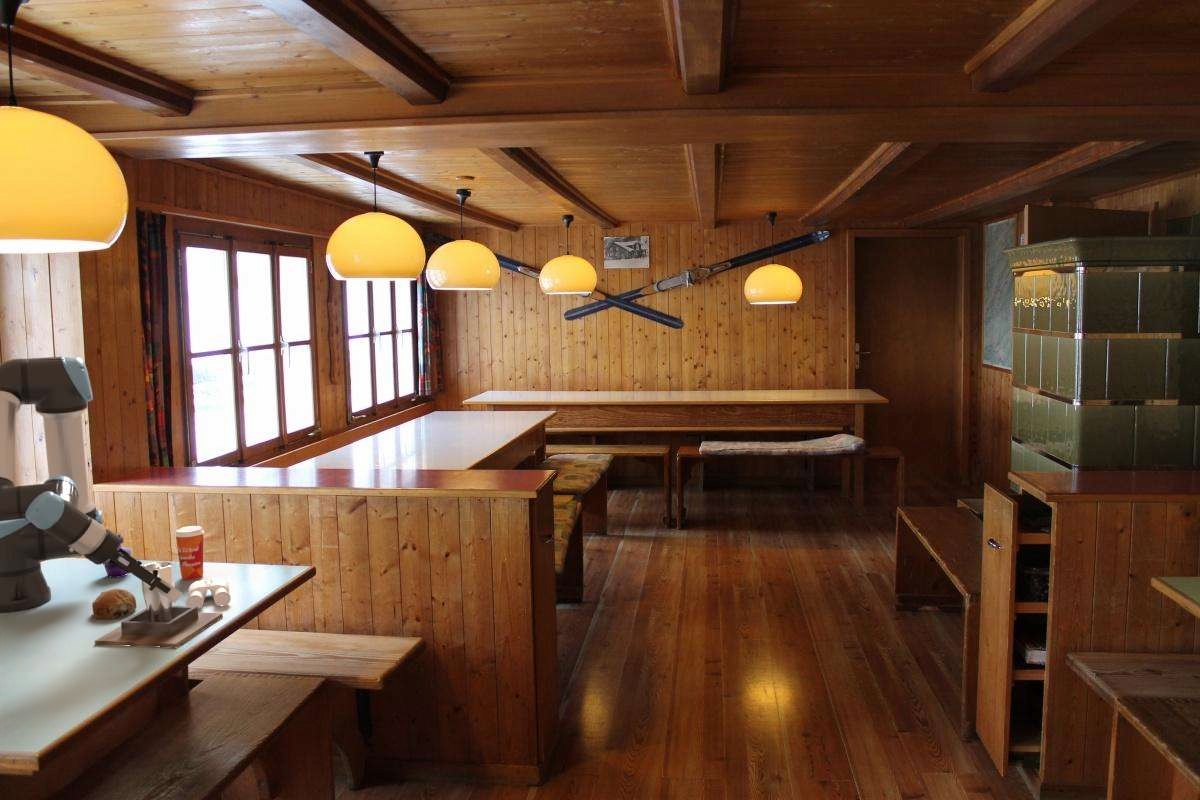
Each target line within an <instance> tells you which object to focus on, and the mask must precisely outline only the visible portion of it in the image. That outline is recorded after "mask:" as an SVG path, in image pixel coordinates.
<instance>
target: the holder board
mask: <svg viewBox="0 0 1200 800" xmlns="http://www.w3.org/2000/svg"><path fill="white" fill-rule="evenodd" d="M172 612H173V617H174V619H172V620H171V621H169V622H148V611H147V607H146V608H145V609H143V610H140V611H139V612H137V613H135V614H133V615H132V616H129V617H128V618H125V620H122V621H121V622H120V626H119V627H116V628H114V629H113V630H111V631H109V632H108V633H106V634H104V635H102V636H100V637H99V638H97V639H96V640H94V645H95V646H112V645H130V646H129V647H137V646H160V647H159V648H162V647H177V646H179V645H180V646H181V644H182V643H183V642H185V641H186V642H188V641H189V640H191V639H192V638H194V637H195V636H196V634H197V635H198V634H199V632H200V631H201V632H202V630H203V629H204V630H205V628H206V627H207V628H209V627H210V626H211V625H210V624H212V623H213V624H215V623H216V622H218V621H219V620H221V619H222V618H224V617H223V612H202V611H201V612H199V609H198V607H195V606H187V605H172ZM220 618H221V619H220ZM218 619H219V620H218ZM217 620H218V621H217ZM215 621H216V622H215ZM214 622H215V623H214ZM213 624H212V625H213ZM209 625H210V626H209ZM208 626H209V627H208ZM207 628H206V629H207ZM204 630H203V631H204ZM201 632H200V633H201ZM193 636H194V637H193ZM190 638H191V639H190ZM187 640H188V641H187ZM186 642H185V643H186ZM183 644H184V643H183ZM183 644H182V645H183ZM180 646H179V647H180ZM177 648H178V647H177Z"/></svg>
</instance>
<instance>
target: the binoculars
mask: <svg viewBox="0 0 1200 800" xmlns="http://www.w3.org/2000/svg"><path fill="white" fill-rule="evenodd" d="M208 590H210V592H211V593H210V594H211V596H212V600H214V601H213V602H214V604H215V605H216V606H217V607H220V606H221V605H223V606H222V607H225V606H228V605H229V604H230V602H231V594H230V584H229V582H228V581H227V580H226V579H224V578H222V577H220V578H219V577H218V578H211V577H209V576H208V577H206V578H205V579H202V580H196V581H194V582H192V583H191V584H190V586H189V587H188V593H187V595H188V596H187V599H186V606H195V607H198V610H200V609H202V607H203V605H204V601H205V600H206V597H207V592H208Z"/></svg>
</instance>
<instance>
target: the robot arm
mask: <svg viewBox="0 0 1200 800" xmlns="http://www.w3.org/2000/svg"><path fill="white" fill-rule="evenodd" d="M93 395H94V394H93V390H92V385H91V380H90V376H89V372H88V368H87V366H86V362H85V361H84V360H83V358H81V357H77V356H49V357H33V358H32V357H31V358H14V359H9V360H6V361H3V362H1V363H0V613H5V612H8V611H9V612H16V611H20V610H26V609H31V608H34V607H38V606H40V605H43V604H45V603H47V602H48V601H50V600H51V599H52V590H51V587H50V586H49V585H48V582H47V580H46V577H45V575H44V574H43V571H42V563H41V562H42V561H51V560H57V559H58V560H59V559H66V558H74V557H75V558H76V557H79V558H80V557H83V556H84V558H85V559H87V560H88V561H90V562H92V563H93V564H94V565H103V563H104V562H106V560H108V559H110V561H109V563H110V564H112V565H113V566H115V567H116V568H120V569H121V570H123V571H124V572H126V573H128V574H132V575H133V576H135V577H136V578H138V579H139V580H140V581H141V582H142V581H144V582H145V583H147V584H148V585H150V586H151V587H150V588H149V590H151V591H152V590H153V589H154V590H156V591H158V592H159V593H161V594H162V595H164V596H165V597H167V598H168V599H170V600H171V601H173V604H175V603H176V602H177V601H178V600H179V599H180V598H181V596H183V592H182V591H180V590H179V589H177V588H176V587H175V586H174V587H173V586H171V585H170V584H168V583H167V582H165V581H164V580H162V579H161V578H160V577H157V576H155V575H154V574H152V573H151V572H149V571H148V570H146V569H145V568H143V567H142V566H143V565H142V564H143V562H142V561H140V560H137V559H135V558H134V557H133V556H132V557H131V556H130V554H129V553H127V552H126V551H124V550H123V549H121V548H120V549H119V550H117V549H118V547H119V545H120V541H121V540H120V537H118V536H117V535H115V534H114V533H115V532H112V531H111V530H109V529H106V526H104V525H102V524H103V511H102V510H101V509H96V508H97V506H96V503H95V502H93V501H92V500H91V499H89V487H88V477H87V467H86V453H85V442H84V441H85V439H84V431H83V420H82V418H83V417H82V414H83V413H84V412H85V411H86V410H87V409H88V403H89V402H91V401H93V400H94V396H93ZM23 405H34V407H35V412H36V414H38V415H40V416H42V418H43V430H44V438H45V450H46V460H47V470H48V478H47V479H46V480H45V481H44V482H43V483H37V484H28V485H17V486H16V485H15V481H16V478H15V477H16V476H15V475H16V473H15V471H16V423H17V422H16V417H17V414H18V413H19V411H20V410H21V406H23ZM153 580H154V581H153ZM152 581H153V582H152ZM151 582H152V583H151Z"/></svg>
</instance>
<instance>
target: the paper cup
mask: <svg viewBox="0 0 1200 800" xmlns="http://www.w3.org/2000/svg"><path fill="white" fill-rule="evenodd" d="M204 534H205V530H204V529H203V527H202V526H200V525H199V526H198V525H189V526H183V527H180V528H178V529H176V531H175V533H174V536H175V539H176V547H177V555H178V562H179V563H178V564H179V569H180V576H181V579H182V580H183V579H184V581H190V580H191V581H193V580H198V579H201V578H202V577H203V576H204ZM200 577H201V578H200ZM197 578H198V579H197Z"/></svg>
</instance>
